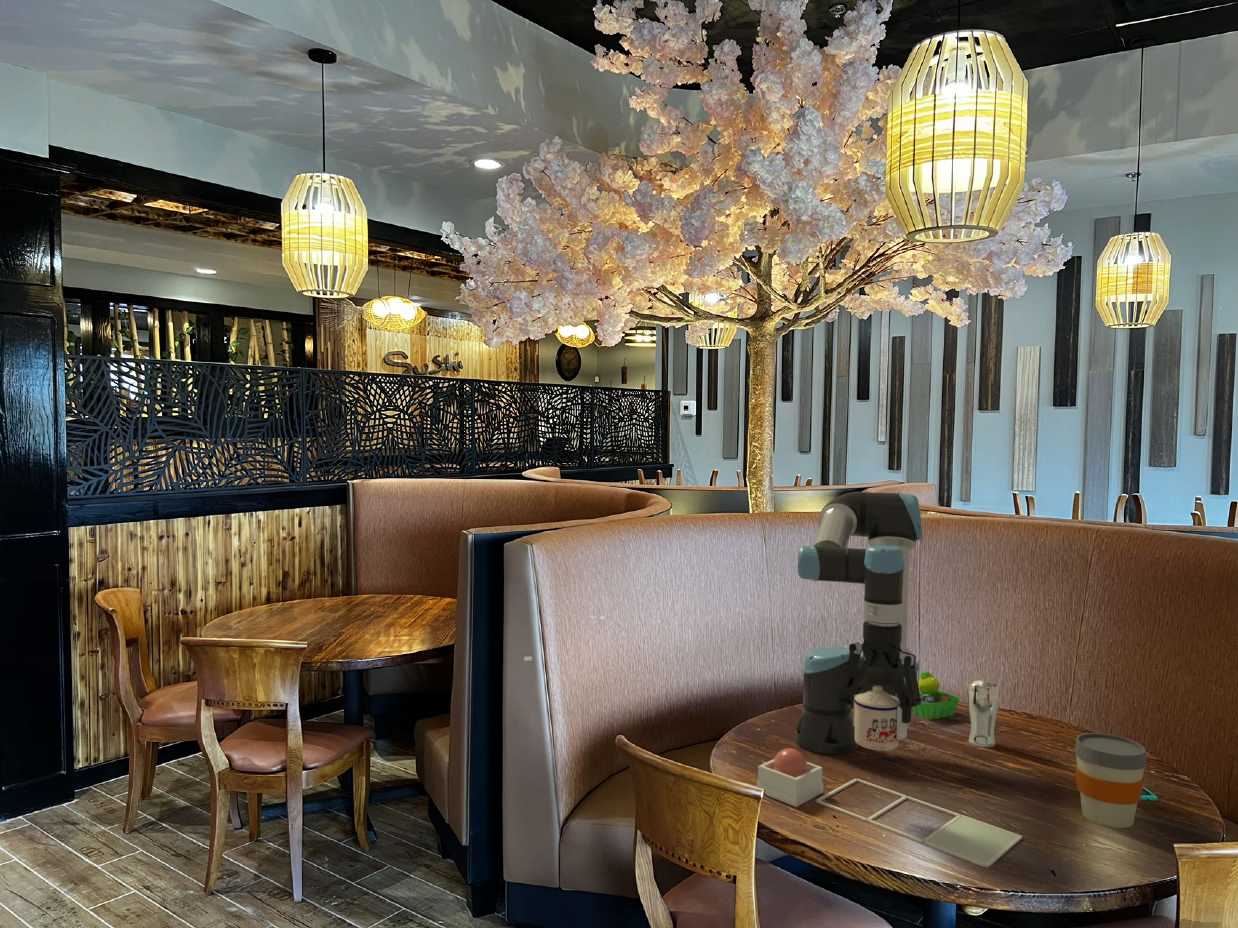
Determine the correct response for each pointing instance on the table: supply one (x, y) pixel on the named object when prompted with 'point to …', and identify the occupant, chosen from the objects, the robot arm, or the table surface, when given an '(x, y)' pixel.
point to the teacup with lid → (876, 719)
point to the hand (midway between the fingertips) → (879, 731)
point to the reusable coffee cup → (1109, 777)
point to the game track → (948, 831)
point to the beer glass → (982, 712)
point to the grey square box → (790, 784)
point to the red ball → (790, 762)
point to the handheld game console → (1147, 795)
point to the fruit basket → (934, 699)
